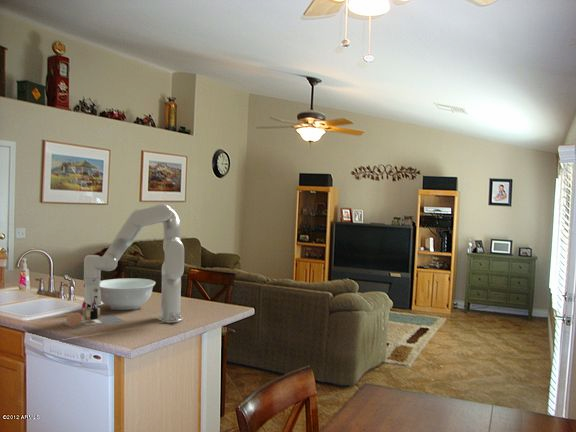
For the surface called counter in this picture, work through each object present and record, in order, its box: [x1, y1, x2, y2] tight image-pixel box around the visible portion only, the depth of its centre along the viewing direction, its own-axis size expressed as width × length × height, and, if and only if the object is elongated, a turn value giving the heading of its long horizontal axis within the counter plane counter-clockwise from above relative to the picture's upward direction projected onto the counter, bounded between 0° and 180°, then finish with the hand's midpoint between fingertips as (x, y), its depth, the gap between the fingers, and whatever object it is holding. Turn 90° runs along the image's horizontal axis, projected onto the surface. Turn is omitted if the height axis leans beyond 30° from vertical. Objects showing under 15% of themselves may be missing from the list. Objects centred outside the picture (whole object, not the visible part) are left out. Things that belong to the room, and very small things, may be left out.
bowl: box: [100, 277, 156, 311], centre depth 269 cm, size 32×32×15 cm
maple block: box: [82, 307, 101, 321], centre depth 234 cm, size 6×6×5 cm
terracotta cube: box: [66, 312, 83, 327], centre depth 229 cm, size 5×5×5 cm
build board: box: [62, 315, 125, 330], centre depth 235 cm, size 14×25×1 cm, turn 132°
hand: (91, 317), depth 234 cm, fingers closed on maple block, 5 cm apart
